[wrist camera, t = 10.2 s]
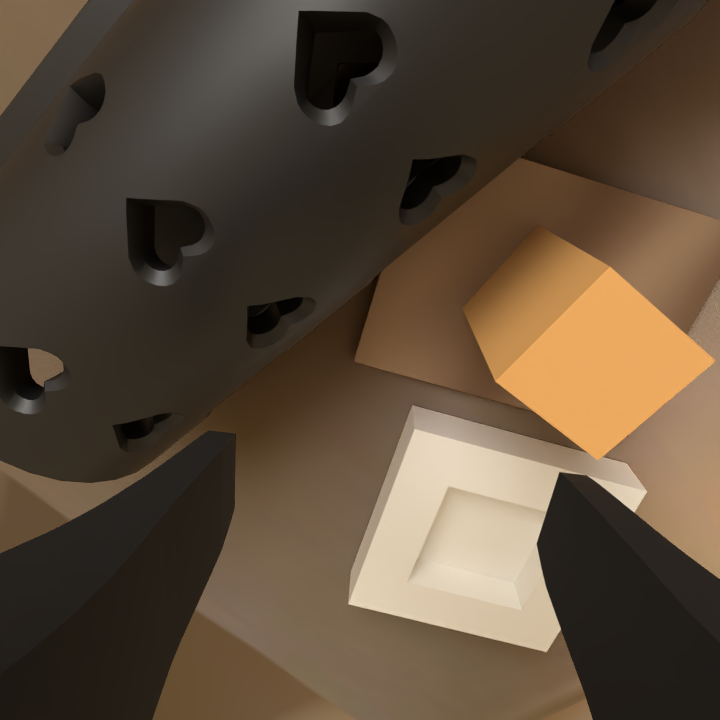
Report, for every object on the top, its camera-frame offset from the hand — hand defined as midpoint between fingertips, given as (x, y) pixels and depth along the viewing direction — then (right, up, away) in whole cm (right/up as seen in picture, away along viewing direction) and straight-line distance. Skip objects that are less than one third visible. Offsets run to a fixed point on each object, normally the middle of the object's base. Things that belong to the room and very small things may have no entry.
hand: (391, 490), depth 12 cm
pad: (+6, +5, +9) cm, 12 cm away
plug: (+6, +5, +8) cm, 11 cm away
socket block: (+5, -5, +13) cm, 15 cm away
